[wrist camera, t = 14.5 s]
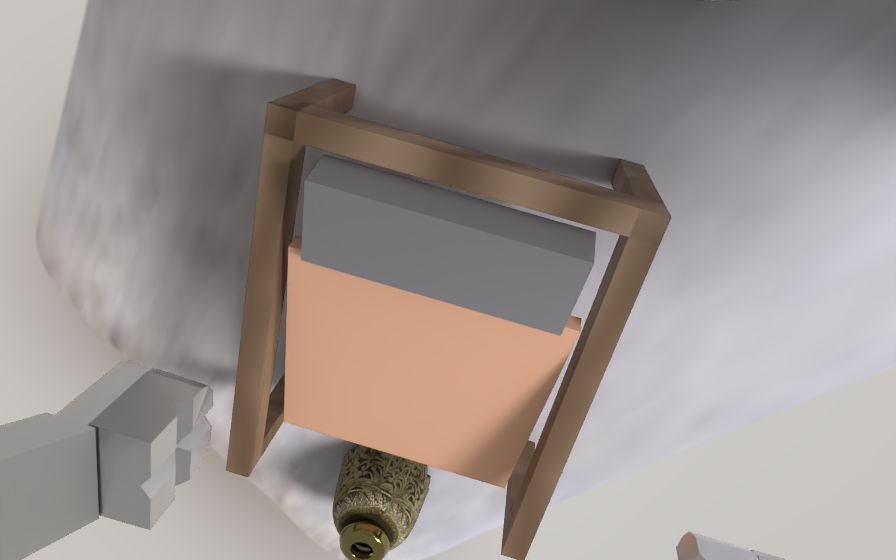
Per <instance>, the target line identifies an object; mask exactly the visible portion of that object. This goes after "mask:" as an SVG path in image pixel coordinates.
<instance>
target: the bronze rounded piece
mask: <svg viewBox="0 0 896 560" xmlns="http://www.w3.org/2000/svg"><path fill="white" fill-rule="evenodd" d="M429 484H430V476H428V477H427V465H426V464H423V463H419V462H416V461H413V460H409V459H406V458H403V457H399V456H396V455H393V454H390V453H386V452H383V451H380V450H376V449H373V448H370V447H366V446H363V445H360V444H359V445H358V447H357V448H356V450H355V452H354V453H353V451H352V450H349V452H348V454H347V455H346V456H345V457H344V460H343V463H342V467H341V471H340V475H339V479H338V483H337V487H336V491H335V496H334V503H333V519H334V524H335V527H336V529H337V531H338V533H339V535H340V548H341V551H342V553H343V554H344V555H345V557H346V558H347V559H349V560H382V559H383V558H384V557H385V556H386V554H387V553H388V551H389V550H392V549H394V548H396V547H397V546H398V545H400V544H401V543H402V542H403V541H404V540H405V539H406V538H407V537H408V535H409V534H410V532H411V530H412V529H413V527H414V525H415V523H416V520H417V518H418V516H419V513H420V511H421V508H422V505H423V503H424V500H425V498H426V495H427V493H428V490H429V488H428V486H429Z"/></svg>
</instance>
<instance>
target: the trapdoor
mask: <svg viewBox="0 0 896 560" xmlns="http://www.w3.org/2000/svg"><path fill="white" fill-rule="evenodd" d="M595 237H596V232H593V231H589V230H586V229H582V228H579V227H575V226H572V225H568V224H565V223H561V222H558V221H554V220H551V219H547V218H544V217H540V216H537V215H533V214H530V213H526V212H523V211H519V210H516V209H512V208H509V207H505V206H502V205H498V204H495V203H491V202H488V201H484V200H481V199H477V198H473V197H470V196H466V195H463V194H459V193H456V192H452V191H449V190H445V189H442V188H438V187H435V186H431V185H428V184H424V183H421V182H417V181H414V180H410V179H407V178H403V177H400V176H396V175H393V174H389V173H386V172H382V171H379V170H375V169H372V168H368V167H365V166H361V165H358V164H354V163H351V162H347V161H344V160H340V159H337V158H333V157H330V156H326V155H323V156H322V158H321V159H320V160H319V162H318V163H317V164H316V166H315V167H314V168H313V170H312V171H311V172H310V173H309V175H308V176H307V177H306V179H305V180H304V202H303V225H302V237H299V236H295V238H294V239H293V241H292V242H291V243H290V245H289V246H288V281H287V319H286V357H285V395H284V422H287V423H290V424H293V425H297V426H300V427H303V428H307V429H310V430H313V431H317V432H320V433H323V434H326V435H330V436H333V437H336V438H340V439H343V440H346V441H350V442H353V443H356V444H360V445H363V446H366V447H370V448H373V449H376V450H380V451H383V452H386V453H390V454H393V455H396V456H399V457H403V458H406V459H409V460H413V461H416V462H419V463H423V464H426V465H429V466H433V467H436V468H439V469H443V470H446V471H449V472H453V473H456V474H459V475H463V476H466V477H469V478H473V479H476V480H479V481H482V482H486V483H489V484H492V485H496V486H499V487H502V488H505V486H506V484H507V482H508V480H509V478H510V476H511V474H512V472H513V470H514V467H515V465H516V463H517V461H518V459H519V457H520V455H521V453H522V451H523V449H524V447H525V445H526V443H527V441H528V439H529V436H530V434H531V432H532V430H533V428H534V426H535V424H536V422H537V420H538V418H539V416H540V414H541V412H542V410H543V408H544V406H545V403H546V401H547V399H548V397H549V395H550V393H551V391H552V389H553V387H554V385H555V383H556V381H557V379H558V377H559V375H560V372H561V370H562V368H563V366H564V364H565V362H566V360H567V358H568V356H569V354H570V352H571V350H572V348H573V346H574V344H575V342H576V339H577V337H578V335H579V333H580V330H581V318H578V317H574V316H571V313H572V310H573V308H574V306H575V304H576V302H577V299H578V297H579V295H580V293H581V291H582V289H583V286H584V284H585V282H586V280H587V278H588V275H589V273H590V271H591V269H592V267H593V264H594V255H595Z"/></svg>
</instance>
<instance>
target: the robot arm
mask: <svg viewBox="0 0 896 560" xmlns="http://www.w3.org/2000/svg"><path fill="white" fill-rule="evenodd" d="M212 406H213V390H212V389H211V388H210V387H209V386H208V385H205V384H201V383H198V382H195V381H192V380H189V379H186V378H183V377H180V376H177V375H174V374H171V373H168V372H165V371H162V370H159V369H154V368H151V367H148V366H145V365H142V364H139V363H136V362H133V361H130V360H128V361H124V362H120V363H119V364H118V365H116V366H115V367H114V368H112V369H111V370H110V371H109V372H108V373H106V374H105V375H104V376H103V377H101V378H100V379H99V380H98V381H97V382H95V383H94V384H93V385H92V386H90V387H89V388H88V389H87V390H85V391H84V392H83V393H82V394H80V395H79V396H78V397H77V398H76V399H74V400H73V401H72V402H71V403H69V404H68V405H67V406H66V407H64V408H63V409H62V410H61V411H60V412H58V413H57V414H56V415H53V414H49V413H43V414H40V415H36V416H33V417H30V418H26V419H22V420H19V421H16V422H12V423H8V424H5V425H1V426H0V560H21V559H23V558H25V557H27V556H29V555H31V554H32V553H34V552H36V551H38V550H40V549H42V548H44V547H46V546H48V545H50V544H51V543H53V542H55V541H57V540H59V539H61V538H63V537H65V536H67V535H69V534H70V533H72V532H74V531H76V530H78V529H80V528H82V527H84V526H86V525H87V524H89V523H91V522H93V521H95V520H97V519H99V515H100V516H104V517H107V518H110V519H114V520H117V521H122V522H124V523H128V524H132V525H135V526H138V527H142V528H146V529H149V530H150V529H151V528H152V527H153V526H154V524H155V523H156V522H157V521H158V519H159V518H160V517H161V516H162V514H163V513H164V512H165V511H166V509H167V508H168V507H169V505H170V504H171V503H172V502H173V500H174V498H175V486H176V485H178V484H181V483H183V482H185V481H188V480H190V479H191V477H192V476H193V475H194V473H195V472H196V471H197V469H198V468H199V467H200V465H201V462H202V460H203V458H204V456H205V454H206V452H207V450H208V446H209V442H210V438H211V427H212V426H211V425H210V423H209V421H208V420H207V418H206V416H205V414H206V413H207V412H208V411H209V410H210V409H211V407H212ZM676 549H677V555H678V560H784V559H783V558H779V557H776V556H772V555H769V554H765V553H762V552H758V551H754V550H749V549H746V548H743V547H739V546H736V545H733V544H729V543H726V542H722V541H719V540H716V539H712V538H709V537H706V536H702V535H699V534H695V533H692V532H688V533H686V534H685V535H684V536H683V537H682V539H681V540H680V542H679V543H678V545H677V547H676Z"/></svg>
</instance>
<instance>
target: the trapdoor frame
mask: <svg viewBox="0 0 896 560" xmlns="http://www.w3.org/2000/svg"><path fill="white" fill-rule="evenodd" d="M355 88H356V85H355V84H351V83H348V82H344V81H341V80H337V79H330V80H328V81H325V82H322V83H320V84H317V85H314V86H311V87H309V88H306V89H303V90H301V91H298V92H295V93H293V94H290V95H287V96H285V97H282V98H279V99H277V100H274V101H271V102H269V103H267V112H266V121H265V130H264V138H263V147H262V156H261V165H260V174H259V183H258V192H257V200H256V209H255V218H254V227H253V236H252V245H251V254H250V262H249V271H248V280H247V289H246V298H245V307H244V316H243V324H242V333H241V342H240V351H239V360H238V369H237V378H236V387H235V395H234V404H233V413H232V422H231V431H230V440H229V449H228V457H227V466H226V471H229V472H232V473H235V474H239V475H242V476H245V477H249V475H250V473H251V472H252V470H253V469H254V467H255V465H256V464H257V462H258V461H259V459H260V458H261V456H262V454H263V453H264V451H265V450H266V448H267V447H268V445H269V443H270V442H271V440H272V439H273V437H274V436H275V434H276V432H277V431H278V429H279V428H280V426H281V424H282V423H283V421H284V395H285V374H284V375H283V377H282V378H281V379H280V381H279V382H278V384H277V385H276V386H275V388H274V389H273V391H272V392H271V393H270V391H271V384H272V377H273V370H274V363H275V356H276V349H277V342H278V335H279V328H280V321H281V314H282V307H283V300H284V293H285V286H286V279H287V272H288V246H289V245H290V243H291V242H292V238H293V231H294V224H295V217H296V210H297V203H298V196H299V189H300V182H301V175H302V168H303V161H304V154H305V147H306V145H307V146H311V147H315V148H318V149H322V150H325V151H329V152H332V153H336V154H339V155H343V156H346V157H350V158H353V159H357V160H360V161H364V162H367V163H371V164H374V165H378V166H381V167H385V168H388V169H392V170H395V171H399V172H402V173H406V174H409V175H413V176H416V177H420V178H423V179H427V180H430V181H434V182H437V183H441V184H444V185H448V186H451V187H455V188H458V189H462V190H465V191H469V192H473V193H476V194H480V195H483V196H487V197H490V198H494V199H497V200H501V201H504V202H508V203H511V204H515V205H518V206H522V207H525V208H529V209H532V210H536V211H539V212H543V213H546V214H550V215H553V216H557V217H560V218H564V219H567V220H571V221H574V222H578V223H581V224H585V225H588V226H592V227H595V228H599V229H602V230H606V231H609V232H613V233H616V234H620V236H619V239H618V241H617V244H616V246H615V249H614V251H613V254H612V257H611V259H610V262H609V264H608V267H607V269H606V272H605V274H604V277H603V279H602V282H601V284H600V287H599V289H598V292H597V295H596V297H595V300H594V302H593V305H592V307H591V310H590V312H589V315H588V317H587V320H586V322H585V325H584V327H583V330H582V332H581V335H580V338H579V340H578V343H577V345H576V348H575V350H574V353H573V355H572V358H571V360H570V363H569V365H568V368H567V370H566V373H565V376H564V378H563V381H562V383H561V386H560V388H559V391H558V393H557V396H556V398H555V401H554V403H553V406H552V408H551V411H550V414H549V416H548V419H547V421H546V424H545V426H544V429H543V431H542V434H541V436H540V439H539V441H538V444H537V446H536V449H535V443H534V442H530V441H527V443H526V445H525V447H524V449H523V451H522V453H521V455H520V457H519V459H518V461H517V463H516V465H515V467H514V470H513V472H512V474H511V476H510V478H509V480H508V485H507V496H506V507H505V518H504V528H503V539H502V551H501V555H504V556H507V557H511V558H514V559H517V560H525V557H526V555H527V553H528V550H529V548H530V546H531V543H532V541H533V539H534V536H535V534H536V532H537V529H538V527H539V525H540V522H541V520H542V518H543V515H544V513H545V511H546V508H547V506H548V504H549V501H550V499H551V497H552V494H553V492H554V490H555V487H556V485H557V483H558V480H559V478H560V476H561V473H562V471H563V469H564V466H565V464H566V462H567V459H568V457H569V455H570V452H571V450H572V448H573V445H574V443H575V441H576V438H577V436H578V434H579V431H580V429H581V427H582V424H583V422H584V420H585V417H586V415H587V413H588V410H589V408H590V406H591V403H592V401H593V399H594V396H595V394H596V392H597V389H598V387H599V385H600V382H601V380H602V378H603V375H604V373H605V371H606V368H607V366H608V364H609V361H610V359H611V357H612V354H613V352H614V350H615V347H616V345H617V343H618V340H619V338H620V336H621V333H622V331H623V329H624V326H625V324H626V322H627V319H628V317H629V315H630V312H631V310H632V308H633V305H634V303H635V301H636V298H637V296H638V294H639V291H640V289H641V287H642V284H643V282H644V280H645V277H646V275H647V273H648V270H649V268H650V266H651V263H652V261H653V259H654V256H655V254H656V252H657V249H658V247H659V245H660V242H661V240H662V238H663V235H664V233H665V231H666V228H667V226H668V224H669V221H670V219H671V216H670V214H669V212H668V210H667V208H666V206H665V205H664V203H663V201H662V199H661V197H660V195H659V193H658V191H657V190H656V188H655V186H654V184H653V182H652V180H651V178H650V177H649V175H648V173H647V171H646V169H645V167H644V165H640V164H636V163H633V162H629V161H626V160H622V159H620V160H619V163H618V165H617V168H616V171H615V173H614V176H613V179H612V181H611V182H612V185H613V188H614V190H612V189H608V188H604V187H601V186H597V185H594V184H590V183H587V182H583V181H580V180H576V179H573V178H569V177H565V176H562V175H558V174H555V173H551V172H548V171H544V170H541V169H537V168H534V167H530V166H527V165H523V164H519V163H516V162H512V161H509V160H505V159H502V158H498V157H495V156H491V155H488V154H484V153H481V152H477V151H473V150H470V149H466V148H463V147H459V146H456V145H452V144H449V143H445V142H442V141H438V140H434V139H431V138H427V137H424V136H420V135H417V134H413V133H410V132H406V131H403V130H399V129H396V128H392V127H388V126H385V125H381V124H378V123H374V122H371V121H367V120H364V119H360V118H357V117H353V116H349V115H346V114H343V113H345V112H347V111H349V110H350V109H352V105H353V100H354V94H355Z"/></svg>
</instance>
